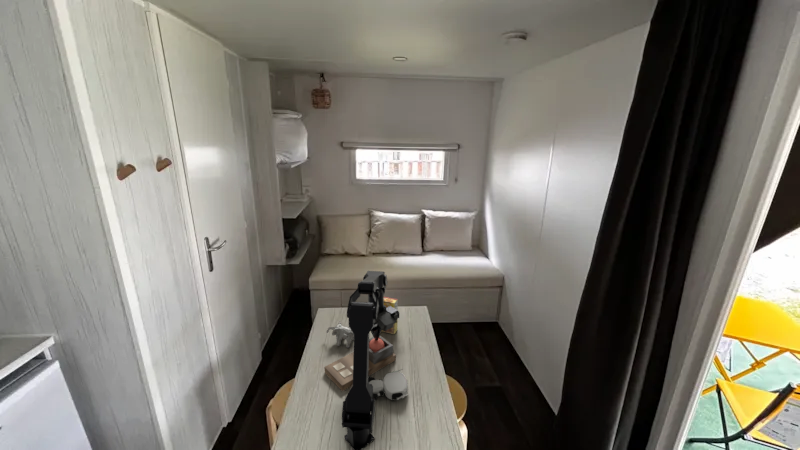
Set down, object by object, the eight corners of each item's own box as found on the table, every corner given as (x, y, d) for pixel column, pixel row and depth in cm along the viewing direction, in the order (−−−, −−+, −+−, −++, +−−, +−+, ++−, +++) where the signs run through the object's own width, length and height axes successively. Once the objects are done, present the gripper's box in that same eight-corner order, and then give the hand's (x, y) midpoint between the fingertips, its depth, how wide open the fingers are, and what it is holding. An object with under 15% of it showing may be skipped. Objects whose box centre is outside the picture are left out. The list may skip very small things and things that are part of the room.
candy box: (375, 330, 148) (375, 299, 144) (379, 325, 152) (379, 295, 147) (394, 334, 145) (394, 303, 141) (397, 329, 149) (398, 298, 145)
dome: (375, 360, 126) (375, 346, 124) (365, 352, 130) (365, 338, 128) (387, 353, 129) (387, 339, 128) (377, 345, 134) (377, 332, 132)
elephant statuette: (354, 349, 136) (355, 332, 134) (324, 349, 135) (324, 332, 133) (355, 335, 145) (355, 320, 143) (327, 335, 144) (327, 320, 142)
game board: (342, 391, 114) (341, 375, 113) (324, 372, 123) (323, 357, 121) (395, 360, 130) (395, 345, 128) (376, 345, 138) (376, 331, 136)
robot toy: (365, 411, 108) (411, 403, 110) (363, 400, 106) (410, 392, 108) (363, 383, 119) (405, 376, 121) (362, 373, 118) (404, 366, 120)
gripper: (368, 322, 112) (369, 361, 116) (409, 303, 124) (408, 339, 128) (349, 308, 120) (351, 345, 124) (389, 292, 131) (390, 326, 136)
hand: (376, 339), depth 128 cm, fingers closed, pressing on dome
